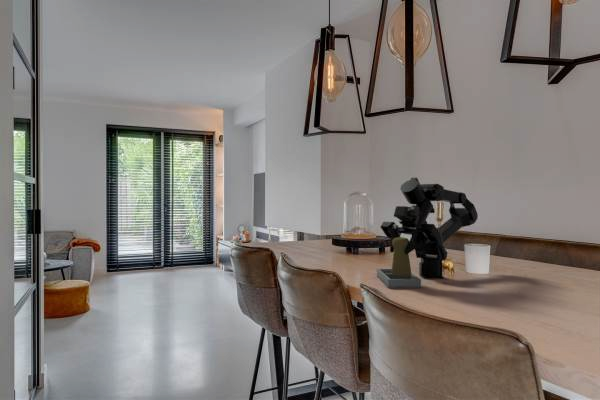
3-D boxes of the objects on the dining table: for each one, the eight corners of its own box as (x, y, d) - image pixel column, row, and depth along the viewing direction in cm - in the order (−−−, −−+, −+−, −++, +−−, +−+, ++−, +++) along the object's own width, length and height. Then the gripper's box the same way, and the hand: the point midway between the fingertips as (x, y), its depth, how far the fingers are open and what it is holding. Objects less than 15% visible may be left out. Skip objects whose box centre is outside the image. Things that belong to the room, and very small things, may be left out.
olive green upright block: (406, 276, 124) (405, 239, 124) (387, 274, 128) (387, 237, 127) (414, 272, 128) (414, 237, 128) (396, 271, 132) (396, 236, 132)
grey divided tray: (405, 276, 142) (405, 268, 142) (421, 287, 123) (420, 279, 123) (376, 276, 142) (376, 268, 141) (388, 288, 123) (388, 279, 123)
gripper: (383, 196, 137) (361, 233, 130) (434, 196, 123) (413, 237, 116) (398, 219, 143) (378, 255, 136) (449, 221, 128) (429, 262, 121)
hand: (398, 252), depth 127 cm, fingers closed on olive green upright block, 5 cm apart
